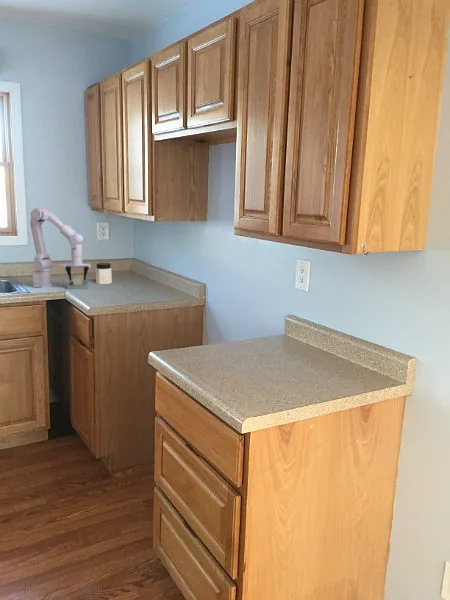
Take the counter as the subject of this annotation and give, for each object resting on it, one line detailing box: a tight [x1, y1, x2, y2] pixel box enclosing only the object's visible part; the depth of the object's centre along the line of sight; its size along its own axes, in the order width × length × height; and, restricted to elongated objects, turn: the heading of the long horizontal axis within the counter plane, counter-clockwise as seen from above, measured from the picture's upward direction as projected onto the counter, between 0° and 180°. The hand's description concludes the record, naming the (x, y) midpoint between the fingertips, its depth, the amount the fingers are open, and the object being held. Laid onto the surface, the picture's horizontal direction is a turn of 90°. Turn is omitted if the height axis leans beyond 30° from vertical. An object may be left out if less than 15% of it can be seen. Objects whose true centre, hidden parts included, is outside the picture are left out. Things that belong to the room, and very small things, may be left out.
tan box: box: [74, 275, 84, 285], centre depth 298 cm, size 4×4×5 cm
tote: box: [66, 280, 91, 290], centre depth 294 cm, size 11×15×2 cm
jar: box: [95, 262, 113, 285], centre depth 307 cm, size 9×8×12 cm
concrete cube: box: [72, 277, 83, 286], centre depth 290 cm, size 5×5×6 cm
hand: (77, 280), depth 290 cm, fingers open, 7 cm apart
